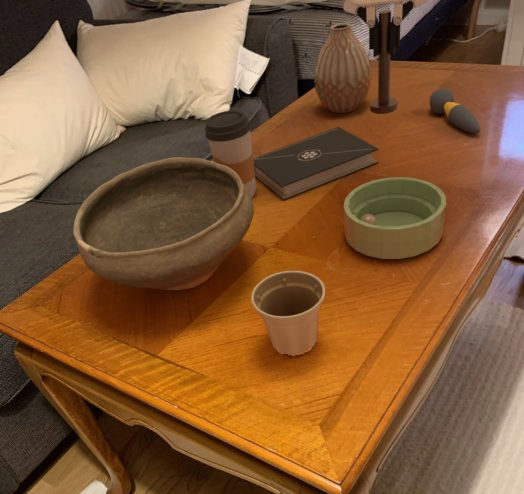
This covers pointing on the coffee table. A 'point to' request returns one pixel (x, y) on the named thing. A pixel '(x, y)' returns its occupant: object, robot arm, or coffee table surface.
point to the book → (313, 162)
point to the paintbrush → (454, 111)
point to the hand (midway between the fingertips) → (384, 52)
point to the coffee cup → (232, 144)
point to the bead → (369, 219)
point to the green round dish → (395, 217)
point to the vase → (342, 71)
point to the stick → (384, 68)
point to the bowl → (164, 223)
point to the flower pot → (290, 309)
